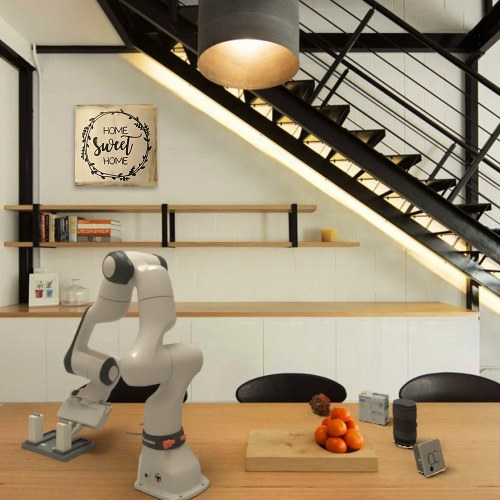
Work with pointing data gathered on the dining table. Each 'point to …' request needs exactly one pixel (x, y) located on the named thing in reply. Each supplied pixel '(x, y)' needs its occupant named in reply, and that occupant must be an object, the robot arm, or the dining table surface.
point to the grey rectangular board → (49, 446)
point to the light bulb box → (374, 407)
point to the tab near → (63, 435)
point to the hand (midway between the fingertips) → (69, 436)
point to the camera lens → (404, 422)
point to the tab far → (35, 428)
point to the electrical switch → (429, 456)
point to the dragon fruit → (320, 404)
